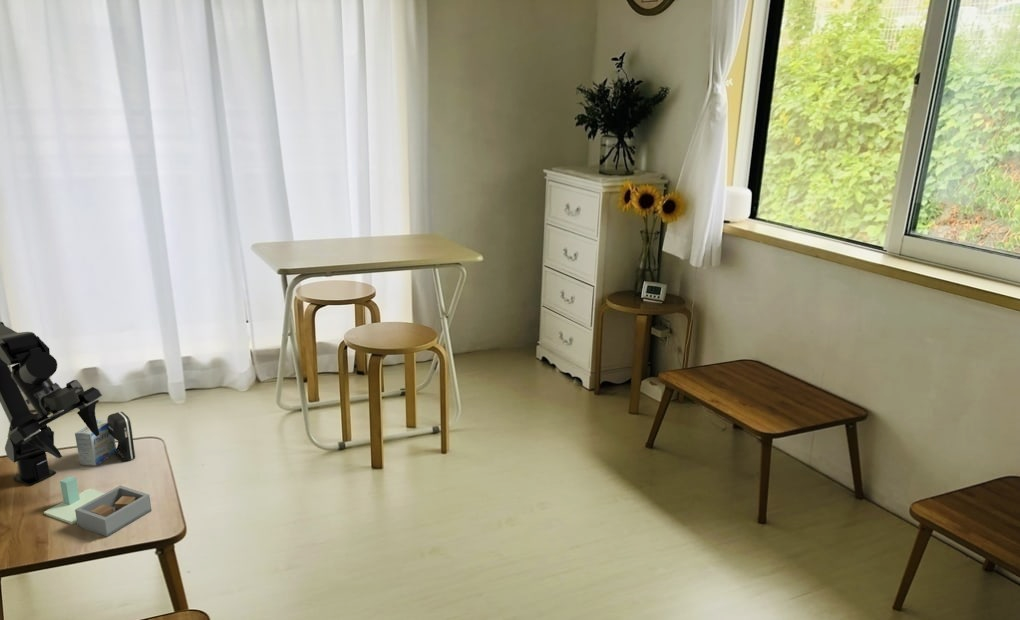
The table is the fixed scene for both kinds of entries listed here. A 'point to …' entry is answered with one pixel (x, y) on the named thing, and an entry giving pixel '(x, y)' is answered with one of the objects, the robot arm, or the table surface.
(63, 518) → the lid
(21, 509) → the table surface
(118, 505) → the block
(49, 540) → the table surface
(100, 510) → the block
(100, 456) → the medicine box
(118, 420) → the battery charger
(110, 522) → the tub
